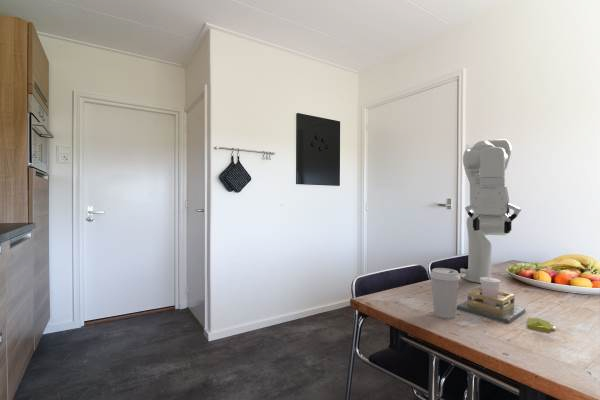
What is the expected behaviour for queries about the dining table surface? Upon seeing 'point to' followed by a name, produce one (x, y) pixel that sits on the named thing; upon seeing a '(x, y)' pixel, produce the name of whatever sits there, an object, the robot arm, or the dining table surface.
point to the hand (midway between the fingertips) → (491, 231)
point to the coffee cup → (444, 291)
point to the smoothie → (490, 288)
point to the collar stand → (501, 312)
